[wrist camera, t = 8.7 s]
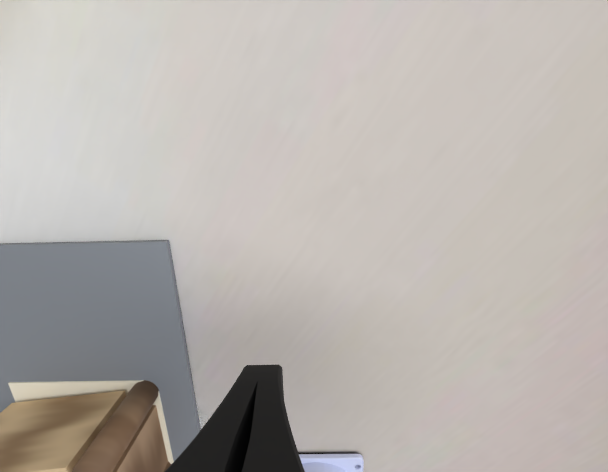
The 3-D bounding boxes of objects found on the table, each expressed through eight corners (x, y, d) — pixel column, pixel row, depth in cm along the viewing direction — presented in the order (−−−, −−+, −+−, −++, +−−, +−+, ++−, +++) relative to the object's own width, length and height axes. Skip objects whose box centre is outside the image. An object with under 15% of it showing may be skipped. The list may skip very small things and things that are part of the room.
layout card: (206, 469, 25) (204, 475, 25) (26, 471, 25) (20, 477, 25) (168, 240, 19) (165, 242, 19) (-68, 245, 19) (-77, 247, 19)
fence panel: (123, 389, 22) (53, 482, 16) (129, 404, 22) (62, 499, 16) (10, 402, 22) (-102, 496, 16) (17, 416, 22) (-89, 513, 16)
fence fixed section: (175, 471, 25) (135, 569, 19) (152, 471, 25) (105, 569, 19) (156, 380, 22) (103, 461, 16) (130, 380, 22) (68, 462, 16)
